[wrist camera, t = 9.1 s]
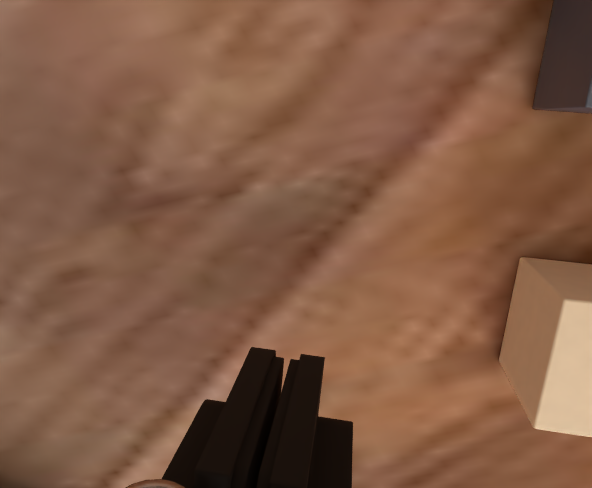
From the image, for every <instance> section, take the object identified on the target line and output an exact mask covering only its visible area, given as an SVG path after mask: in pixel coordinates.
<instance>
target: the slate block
mask: <svg viewBox="0 0 592 488" xmlns="http://www.w3.org/2000/svg"><path fill="white" fill-rule="evenodd" d="M533 109H536V110H550V111H563V112H577V113H591V114H592V0H554V2H553V7H552V12H551V17H550V22H549V27H548V32H547V37H546V42H545V47H544V52H543V57H542V62H541V68H540V73H539V78H538V83H537V88H536V93H535V98H534V103H533Z"/></svg>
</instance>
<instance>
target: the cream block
mask: <svg viewBox="0 0 592 488" xmlns="http://www.w3.org/2000/svg"><path fill="white" fill-rule="evenodd" d="M499 362H500V364H501V366H502V368H503V370H504V372H505V374H506V376H507V378H508V380H509V382H510V384H511V385H512V387H513V389H514V391H515V393H516V395H517V397H518V399H519V401H520V403H521V405H522V407H523V409H524V411H525V413H526V414H527V416H528V418H529V420H530V422H531V424H532V426H533V428H535V429H540V430H547V431H553V432H560V433H567V434H573V435H580V436H587V437H592V264H583V263H574V262H564V261H555V260H546V259H537V258H527V257H521V258H520V260H519V265H518V270H517V275H516V280H515V285H514V289H513V294H512V299H511V304H510V309H509V314H508V318H507V323H506V328H505V333H504V338H503V343H502V347H501V352H500V357H499Z"/></svg>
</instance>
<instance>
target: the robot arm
mask: <svg viewBox="0 0 592 488" xmlns="http://www.w3.org/2000/svg"><path fill="white" fill-rule="evenodd" d="M324 359H325V357H319V356H311V355H304V354H301V356H300V360H294V359H291V360H290V363H289V367H288V371H287V374H286V378H285V381H284V385H283V388H282V392H281V387H282V376H283V365H284V358H280V357H276V351H275V350H269V349H262V348H255V347H251V349H250V351H249V353H248V355H247V357H246V359H245V362H244V364H243V366H242V368H241V370H240V372H239V375H238V377H237V379H236V381H235V383H234V385H233V388H232V390H231V392H230V394H229V396H228V398H227V401H226V402H221V401H214V400H208V399H207V400H205V401H204V402H203V404H202V405H201V407H200V409H199V411H198V413H197V414H196V416H195V418H194V420H193V422H192V424H191V426H190V427H189V429H188V431H187V433H186V435H185V437H184V439H183V440H182V442H181V444H180V446H179V448H178V450H177V452H176V453H175V455H174V457H173V459H172V461H171V463H170V464H169V466H168V468H167V470H166V472H165V474H164V476H163V477H162V479H154V480H144V481H141V482H137V483H134V484H131V485H129V486H128V487H126V488H352V442H353V422H350V421H344V420H337V419H331V418H324V417H318V411H319V403H320V394H321V386H322V377H323V368H324Z"/></svg>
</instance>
